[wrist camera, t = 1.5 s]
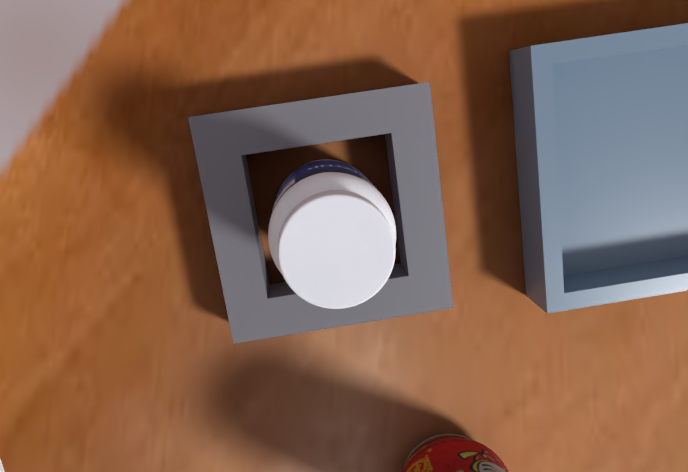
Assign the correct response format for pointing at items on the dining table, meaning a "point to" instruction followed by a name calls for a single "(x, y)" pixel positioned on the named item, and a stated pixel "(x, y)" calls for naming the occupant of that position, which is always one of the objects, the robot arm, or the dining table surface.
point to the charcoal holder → (308, 129)
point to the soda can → (452, 456)
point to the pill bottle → (332, 235)
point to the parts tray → (603, 166)
